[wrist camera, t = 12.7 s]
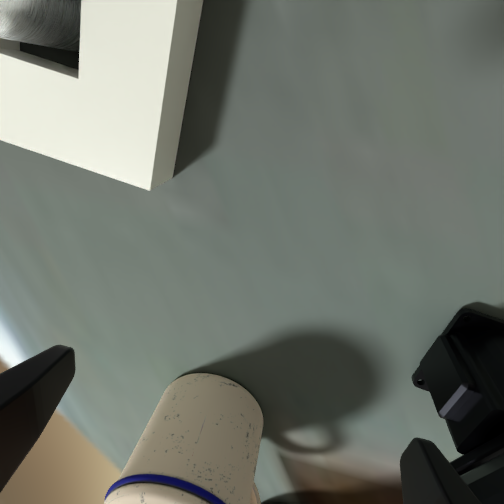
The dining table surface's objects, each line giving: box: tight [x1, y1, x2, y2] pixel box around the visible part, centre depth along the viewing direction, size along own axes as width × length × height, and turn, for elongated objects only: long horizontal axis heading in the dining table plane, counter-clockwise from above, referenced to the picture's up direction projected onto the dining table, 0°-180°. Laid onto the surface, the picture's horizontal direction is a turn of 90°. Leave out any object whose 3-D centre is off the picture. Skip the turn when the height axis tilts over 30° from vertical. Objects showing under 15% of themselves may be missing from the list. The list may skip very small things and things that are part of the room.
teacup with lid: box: [104, 373, 263, 504], centre depth 23 cm, size 12×9×12 cm
